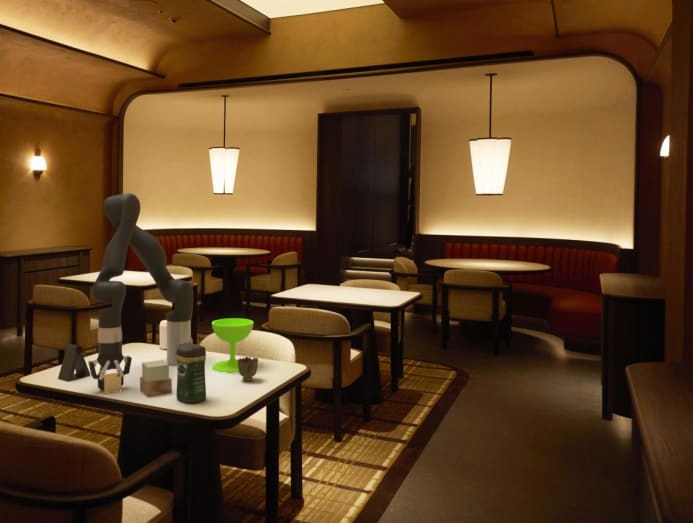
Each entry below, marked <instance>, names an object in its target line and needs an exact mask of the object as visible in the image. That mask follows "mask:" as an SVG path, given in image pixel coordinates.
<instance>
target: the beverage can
mask: <svg viewBox="0 0 693 523" xmlns="http://www.w3.org/2000/svg"><path fill="white" fill-rule="evenodd" d="M159 348H160V349H162V350H164V349H167V319H164V320H161V321H160V323H159Z"/></svg>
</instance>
